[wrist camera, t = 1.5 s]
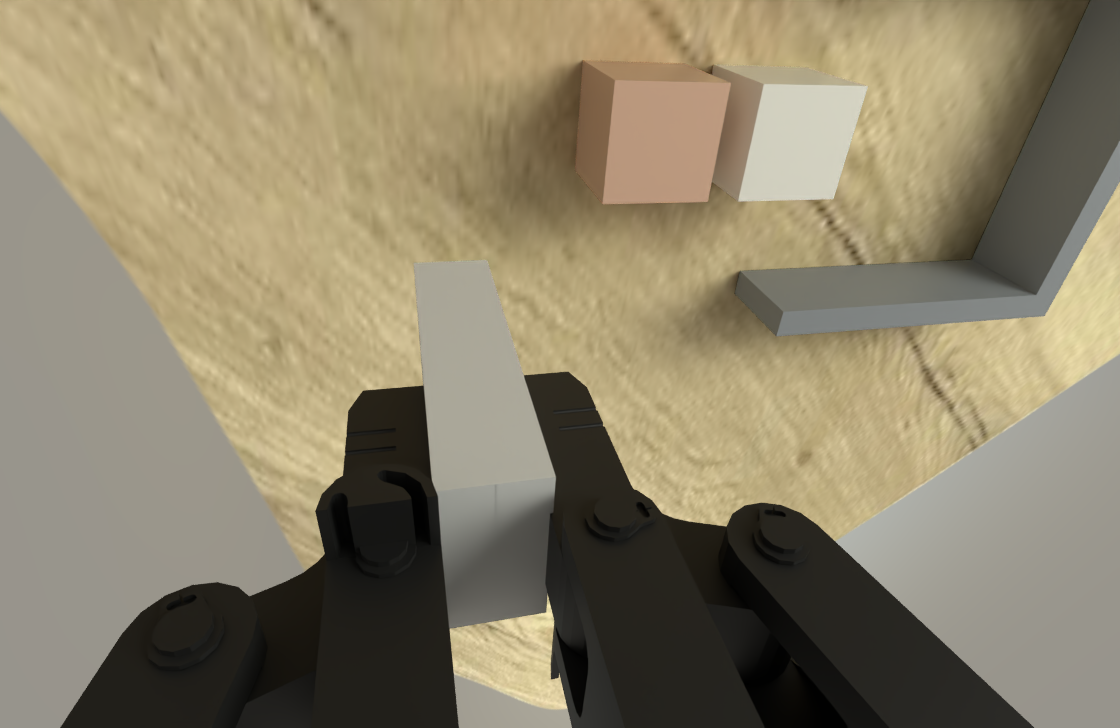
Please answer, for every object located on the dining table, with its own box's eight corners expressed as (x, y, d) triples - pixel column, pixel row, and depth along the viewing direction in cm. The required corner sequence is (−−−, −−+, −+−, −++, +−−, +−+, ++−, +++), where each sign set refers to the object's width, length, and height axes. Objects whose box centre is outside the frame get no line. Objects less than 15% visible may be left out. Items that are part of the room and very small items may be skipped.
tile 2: (712, 64, 30) (764, 83, 26) (805, 66, 31) (867, 85, 27) (694, 168, 33) (738, 201, 29) (779, 167, 34) (833, 198, 30)
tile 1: (582, 59, 28) (614, 80, 24) (684, 63, 30) (731, 83, 26) (574, 169, 31) (602, 204, 27) (667, 169, 32) (707, 201, 28)
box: (834, -127, 26) (915, -138, 22) (1157, -92, 30) (1274, -97, 26) (734, 293, 38) (776, 336, 33) (980, 279, 41) (1044, 316, 37)
